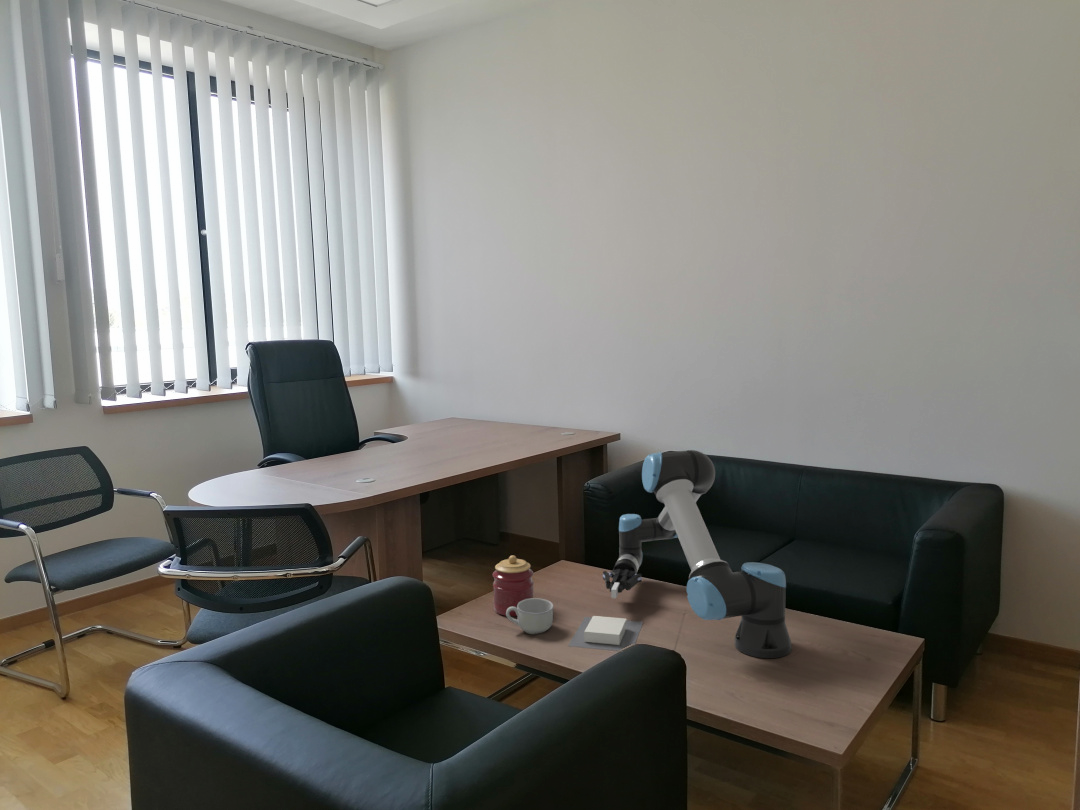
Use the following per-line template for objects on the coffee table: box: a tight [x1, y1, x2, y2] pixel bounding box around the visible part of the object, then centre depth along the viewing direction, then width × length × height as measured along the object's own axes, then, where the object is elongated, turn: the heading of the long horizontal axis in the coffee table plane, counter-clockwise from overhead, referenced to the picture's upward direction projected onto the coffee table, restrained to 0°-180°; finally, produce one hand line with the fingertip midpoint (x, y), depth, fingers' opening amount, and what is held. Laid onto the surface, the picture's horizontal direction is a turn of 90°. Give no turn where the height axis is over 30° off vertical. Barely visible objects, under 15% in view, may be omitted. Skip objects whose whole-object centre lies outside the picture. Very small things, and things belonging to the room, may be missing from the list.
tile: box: [584, 615, 627, 645], centre depth 228 cm, size 3×10×12 cm
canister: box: [492, 555, 534, 617], centre depth 251 cm, size 13×13×18 cm
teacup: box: [505, 597, 554, 635], centre depth 234 cm, size 14×11×8 cm
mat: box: [567, 616, 644, 652], centre depth 230 cm, size 22×18×1 cm
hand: (613, 593), depth 240 cm, fingers closed
